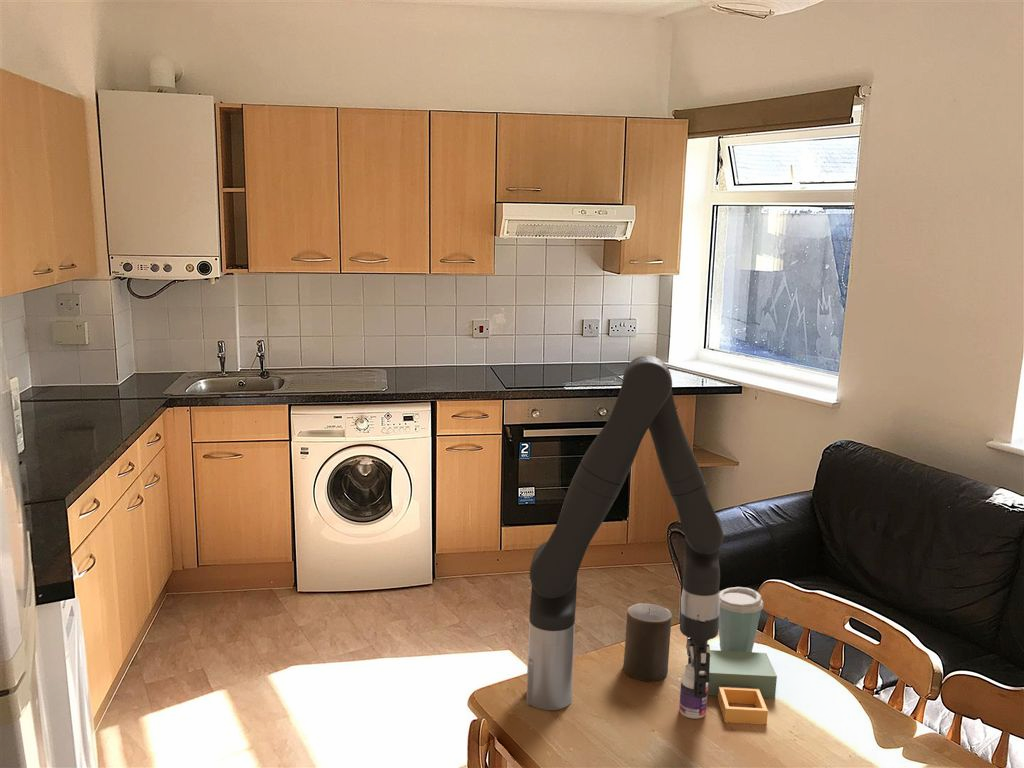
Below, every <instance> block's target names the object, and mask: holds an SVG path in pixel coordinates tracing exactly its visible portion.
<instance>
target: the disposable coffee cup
mask: <svg viewBox="0 0 1024 768" xmlns="http://www.w3.org/2000/svg"><path fill="white" fill-rule="evenodd" d="M719 596H720V611H719V629H718V635H719V637H718V638H719V646H720V647H719V648H720V651H737V652H753V648H754V645H755V640H756V635H757V630H758V627H759V622H760V617H761V612H762V610H763V608H764V601H763V599H762V595H761V594H760V593H759V592H758V591H756V590H755V589H752V588H750V587H743V586H735V587H733V586H732V587H727V588H725V589H722V590H719Z"/></svg>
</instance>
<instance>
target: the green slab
mask: <svg viewBox="0 0 1024 768" xmlns="http://www.w3.org/2000/svg"><path fill="white" fill-rule="evenodd" d="M709 653H710V668H709V683H708V695H707V696H717V701H718V705H719V708H720V711H722V712H721V715H722V718H723V721H724V723H728V722H729V723H730V724H746V723H747V725H748V724H749V723H750V725H764V724H765V726H767V725H768V713H769V710H768V708H767V705H766V703H765V700H764V699H776V693H777V692H776V691H777V690H776V689H777V678H778V677H777V674H776V671H775V669H774V667H773V665H772V663H771V659H770V658H769V656H768V654H767V653H766V652H755V651H754V652H753V651H752V652H737V651H721V650H716V649H715V650H714V649H713V650H712V649H710V652H709ZM743 703H744V704H745V705H746V704H747V705H754V706H755V707H746V706H745V707H744V706H743V707H742V706H730V705H729V704H743ZM729 723H728V724H729Z"/></svg>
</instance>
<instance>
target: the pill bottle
mask: <svg viewBox="0 0 1024 768" xmlns="http://www.w3.org/2000/svg"><path fill="white" fill-rule="evenodd" d="M699 674H704V671H700V672H699ZM693 676H694V669H693V668H692V667H691V663H690V664H688V663H687V664H686V665H685V669H684V674H683V675H682V676H681V679H680V690H679V703H678V704H679V708H678V710H679V713H680V714H681V715H682V716H684V717H686V718H689V719H701V718H704V717H705V716H706V714H707V707H708V696H709V695H708V683H706V692H705V697H704V698H696V697H694V694H693V693H694V677H693Z"/></svg>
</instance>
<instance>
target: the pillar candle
mask: <svg viewBox="0 0 1024 768" xmlns="http://www.w3.org/2000/svg"><path fill="white" fill-rule="evenodd" d="M672 617H673V616H672V612H671V610H670V609H668V608H666V607H663V606H661V605H658V604H652V603H636V604H633V605H631V606H629V607H628V608H627V613H626V623H625V624H626V625H625V640H624V641H625V642H624V654H623V664H622V665H623V666H622V667H623V671H624V672H625V674H626V675H628V676H629V677H631V678H633V679H635V680H639V681H643V682H656V681H660V680H663V679H665V678H666V677H667V676H668V672H669V657H670V643H671V633H672V632H671V630H672ZM666 675H667V676H666ZM664 677H665V678H664Z"/></svg>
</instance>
